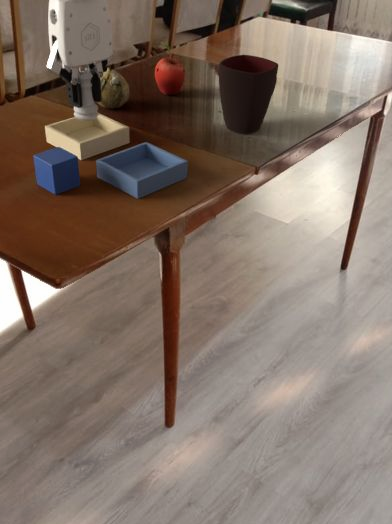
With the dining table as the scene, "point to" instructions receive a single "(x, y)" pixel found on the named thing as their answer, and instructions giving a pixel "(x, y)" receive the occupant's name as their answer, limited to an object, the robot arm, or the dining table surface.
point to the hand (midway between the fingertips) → (85, 101)
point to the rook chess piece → (86, 97)
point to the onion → (113, 90)
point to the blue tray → (141, 169)
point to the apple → (169, 74)
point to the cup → (246, 91)
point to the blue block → (57, 170)
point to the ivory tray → (87, 135)
